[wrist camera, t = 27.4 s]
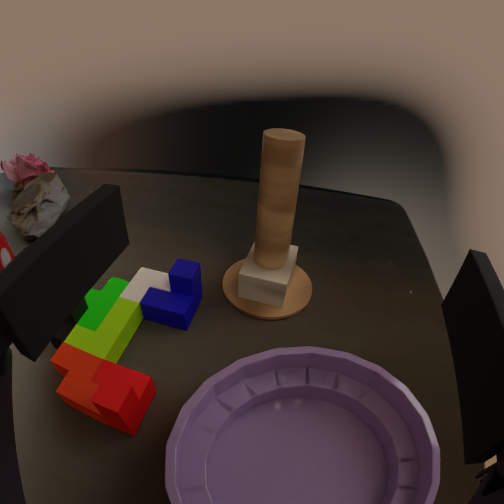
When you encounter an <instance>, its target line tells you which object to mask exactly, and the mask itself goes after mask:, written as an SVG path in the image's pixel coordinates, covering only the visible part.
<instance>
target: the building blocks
mask: <svg viewBox="0 0 504 504" xmlns="http://www.w3.org/2000/svg"><path fill="white" fill-rule="evenodd" d="M201 299H202V285H201V270H200V263H198V262H193V261H188V260H183V259H177V260H176V262H175V263H174V265H173V267H172V268H171V270H170V272H169V273H164V272H159V271H155V270H151V269H147V268H143V267H141V268H140V269H139V271H138V272H137V273H136V275H135V276H134V277H133V279H132V280H131V281H126V280H122V279H119V278H115V277H112V278H111V279H110V280H109V281H108V283H107V284H106V285H105V287H104V288H103V289H102V290H101V291H98V290H95V289H92V288H91V289H90V290H89V292H88V293H87V294H86V295H85V297H84V298H83V299H82V300H81V302H80V303H79V304H78V305H77V307H76V308H75V309H74V310H73V312H72V313H71V314H70V315H69V317H68V318H67V319H66V321H65V322H64V323H63V325H62V326H61V327H60V328H59V330H58V331H57V332H56V334H55V335H54V336H53V338H52V339H51V340H50V341H51V342H52V344H53V346H54V347H55V348H57V349H58V350H57V351H56V353H55V354H54V356H53V357H52V359H51V360H50V361H51V363H52V364H53V365H54V367H55V368H56V370H57V371H58V373H59V374H60V375H61V376H63V377H65V378H64V379H63V381H62V383H61V384H60V386H59V387H58V389H57V391H56V392H57V393H58V395H59V396H60V397H61V398H62V399H63V401H64V402H65V403H66V404H67V405H69V406H71V407H72V408H74V409H76V410H78V411H80V412H82V413H84V414H86V415H88V416H90V417H92V418H94V419H96V420H98V421H100V422H102V423H104V424H107V425H109V426H112V427H114V428H116V429H118V430H121V431H123V432H125V433H128V434H130V435H132V436H135V435H136V433H137V430H138V428H139V426H140V424H141V422H142V420H143V418H144V415H145V413H146V411H147V409H148V407H149V405H150V403H151V401H152V399H153V397H154V394H155V392H156V388H155V385H154V383H153V380H152V377H151V376H148V375H145V374H143V373H140V372H137V371H134V370H132V369H129V368H126V367H123V366H121V365H118V364H117V362H118V360H119V359H120V357H121V355H122V354H123V352H124V350H125V348H126V347H127V345H128V343H129V342H130V340H131V338H132V336H133V335H134V333H135V331H136V330H137V328H138V326H139V325H140V323H141V321H142V320H143V318H144V319H146V320H150V321H153V322H157V323H161V324H164V325H168V326H172V327H176V328H179V329H183V330H187V329H188V327H189V325H190V323H191V320H192V318H193V316H194V314H195V312H196V310H197V307H198V305H199V303H200V301H201Z"/></svg>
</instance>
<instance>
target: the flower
mask: <svg viewBox="0 0 504 504" xmlns="http://www.w3.org/2000/svg"><path fill="white" fill-rule="evenodd" d="M1 168H2V170H3V171H4V173H5V176H6V177H7V178H8V179H10V180H11V181H12V182H16V184H15V185H14V186H15V189H14V192H13V198H14V196H15V195H16V194H17V193H19V194H20V193H21V192H22V191H23V190H24V187H25V186H26V185H27V184H28V183H29V182H31V181H32V180H34V179H35V178H38V176H40V175H41V174H42V173H48V172H52V173H53V172H54V170H52V171H50V170H49V169H50V167H49V166H48V165H47V163H46V162H42V160H40V159H39V157H38V158H37V159H36V158H35V156H34V154H32V155H31V154H30V155H29V156H24V155H17V154H16V155H15V160H10V162H9V163H8V162H6V161H4V162H3V161H1ZM12 200H13V199H12ZM11 202H12V201H11ZM9 205H10V204H9ZM8 207H9V206H8Z"/></svg>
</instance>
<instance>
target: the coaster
mask: <svg viewBox="0 0 504 504" xmlns="http://www.w3.org/2000/svg"><path fill="white" fill-rule="evenodd" d="M245 260H246V258H245V259H242V260H240V261H238V262H236V263H235V264H233V265H232V266H231V267H230V268H229V269H228V270H227V271H226V273H225V275H224V277H223V292H224V295H225V297H226V299H227V300H228V302H229V303H230V304H231V305H232V306H233V307H234V308H235V309H237V310H238V311H240V312H242V313H244V314H246V315H248V316H251V317H255V318H259V319H266V320H277V319H284V318H287V317H290V316H293V315H295V314H297V313H299V312H300V311H301V310H303V309H304V308H305V307H306V306H307V304H308V303H309V301H310V299H311V295H312V284H311V281H310V279H309V277H308V275H307V274H306V273H305V272H304V271H303V270H302V269H301V268H300V267H299V266H297V265H296V264H295V269H294V273H293V276H292V279H291V283H290V286H289V289H288V293H287V296H286V299H285V303H284V306H283V308H280V307H276V306H272V305H267V304H263V303H259V302H255V301H251V300H247V299H243V298H239V297H238V274H239V272H240V270H241V268H242V266H243V264H244V262H245Z"/></svg>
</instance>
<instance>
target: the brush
mask: <svg viewBox="0 0 504 504" xmlns="http://www.w3.org/2000/svg"><path fill="white" fill-rule="evenodd" d="M304 144H305V135H304V134H302V133H300V132H297V131H293V130H288V129H268V130H265V131H264V133H263V145H262V158H261V171H260V183H259V196H258V208H257V221H256V233H255V242H254V244H253V246H252V248H251V250H250V252H249V254H248V256H247V258H246V260H245V262H244V264H243V266H242V268H241V270H240V272H239V274H238V297H239V298H243V299H247V300H251V301H255V302H259V303H263V304H267V305H272V306H276V307H280V308H283V306H284V303H285V299H286V296H287V293H288V289H289V286H290V283H291V279H292V276H293V273H294V269H295V264H296V258H297V253H298V246H293V245H290V242H291V236H292V229H293V223H294V216H295V209H296V203H297V196H298V189H299V182H300V175H301V167H302V159H303V152H304Z"/></svg>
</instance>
